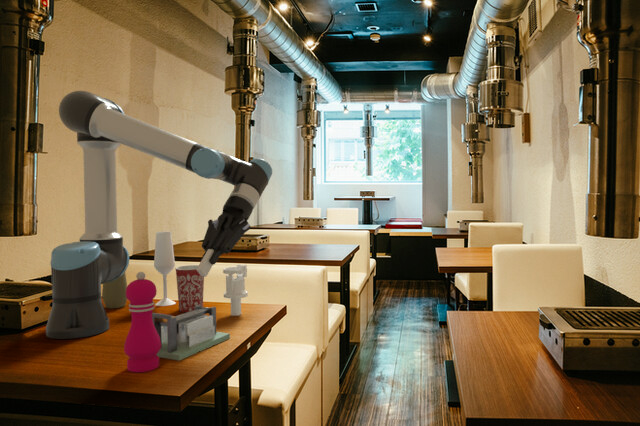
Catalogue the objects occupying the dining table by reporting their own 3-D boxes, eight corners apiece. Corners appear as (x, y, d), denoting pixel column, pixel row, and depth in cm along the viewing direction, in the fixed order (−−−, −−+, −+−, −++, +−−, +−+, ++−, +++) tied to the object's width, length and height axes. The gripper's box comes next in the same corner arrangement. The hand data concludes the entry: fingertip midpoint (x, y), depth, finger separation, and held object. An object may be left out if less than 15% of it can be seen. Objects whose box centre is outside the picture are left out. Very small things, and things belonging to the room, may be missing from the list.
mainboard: (195, 333, 126) (195, 328, 126) (229, 338, 122) (229, 333, 121) (141, 354, 110) (141, 348, 110) (179, 360, 105) (178, 355, 105)
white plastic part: (242, 317, 142) (241, 266, 141) (220, 316, 144) (218, 266, 143) (251, 312, 149) (250, 263, 148) (230, 311, 151) (229, 262, 150)
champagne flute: (168, 306, 159) (166, 232, 158) (150, 305, 161) (148, 232, 160) (180, 301, 165) (178, 231, 164) (162, 301, 167) (160, 231, 166)
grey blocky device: (193, 330, 124) (193, 299, 124) (222, 334, 120) (221, 301, 120) (146, 348, 110) (145, 312, 110) (176, 353, 106) (175, 316, 106)
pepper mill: (165, 361, 105) (163, 268, 105) (155, 373, 98) (152, 274, 97) (132, 361, 105) (129, 269, 104) (119, 374, 98) (116, 275, 97)
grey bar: (202, 311, 123) (202, 303, 123) (211, 312, 121) (211, 304, 121) (159, 326, 110) (158, 317, 110) (169, 328, 108) (168, 318, 108)
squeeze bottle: (134, 305, 161) (132, 251, 160) (112, 310, 154) (110, 253, 153) (118, 303, 165) (117, 250, 164) (96, 308, 158) (94, 252, 157)
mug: (205, 312, 150) (204, 268, 149) (174, 313, 148) (173, 269, 148) (207, 303, 162) (206, 263, 162) (179, 304, 161) (178, 264, 160)
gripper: (266, 213, 134) (229, 284, 119) (228, 213, 140) (188, 280, 125) (254, 194, 129) (215, 265, 114) (215, 194, 135) (173, 262, 120)
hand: (201, 273), depth 120 cm, fingers closed
